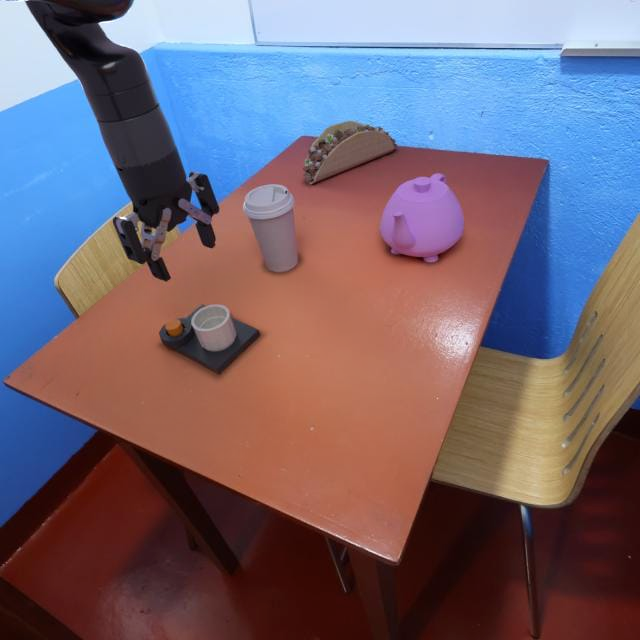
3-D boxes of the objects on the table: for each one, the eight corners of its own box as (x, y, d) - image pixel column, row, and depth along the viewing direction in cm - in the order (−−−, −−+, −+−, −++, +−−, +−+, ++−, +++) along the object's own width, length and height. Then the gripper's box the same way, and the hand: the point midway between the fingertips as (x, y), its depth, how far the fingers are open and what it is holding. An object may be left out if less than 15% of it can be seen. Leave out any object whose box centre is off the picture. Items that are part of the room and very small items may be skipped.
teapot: (434, 290, 82) (437, 222, 73) (357, 270, 89) (350, 205, 80) (478, 226, 94) (485, 160, 85) (406, 212, 102) (406, 151, 92)
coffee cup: (294, 280, 90) (279, 210, 79) (250, 274, 93) (230, 206, 83) (312, 251, 96) (301, 183, 86) (271, 246, 99) (255, 180, 89)
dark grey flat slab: (215, 378, 74) (210, 365, 72) (159, 346, 81) (152, 334, 79) (260, 335, 80) (256, 322, 78) (203, 309, 87) (198, 297, 85)
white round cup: (218, 358, 75) (209, 336, 72) (193, 344, 78) (183, 322, 75) (245, 333, 78) (237, 311, 75) (219, 321, 81) (210, 300, 78)
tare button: (175, 338, 78) (172, 331, 77) (165, 333, 79) (162, 326, 78) (186, 328, 79) (183, 322, 78) (176, 323, 81) (173, 317, 80)
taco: (297, 178, 121) (290, 139, 114) (382, 144, 129) (380, 106, 122) (316, 191, 114) (310, 150, 107) (404, 154, 122) (404, 114, 115)
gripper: (169, 123, 61) (206, 231, 72) (73, 170, 53) (131, 283, 64) (208, 130, 57) (241, 242, 68) (111, 182, 49) (166, 299, 60)
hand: (187, 262), depth 66 cm, fingers open, 8 cm apart
